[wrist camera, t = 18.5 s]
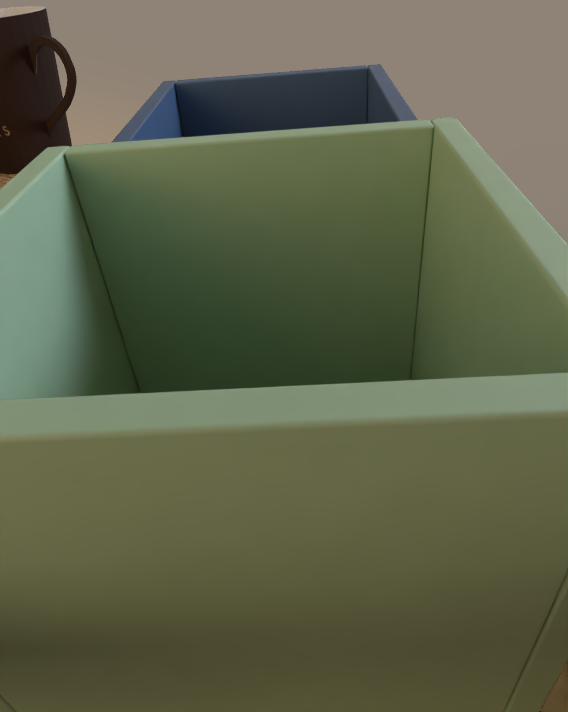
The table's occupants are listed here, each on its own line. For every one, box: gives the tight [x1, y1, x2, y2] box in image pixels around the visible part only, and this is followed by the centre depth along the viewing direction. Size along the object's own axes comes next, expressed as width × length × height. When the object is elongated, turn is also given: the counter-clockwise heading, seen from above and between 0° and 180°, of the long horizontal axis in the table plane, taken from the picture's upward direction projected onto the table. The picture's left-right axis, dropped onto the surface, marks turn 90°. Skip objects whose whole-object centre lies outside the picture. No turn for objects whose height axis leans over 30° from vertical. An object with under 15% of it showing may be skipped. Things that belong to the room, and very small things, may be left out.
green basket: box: [0, 117, 568, 712], centre depth 10 cm, size 8×8×10 cm
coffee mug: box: [0, 6, 76, 174], centre depth 40 cm, size 12×9×10 cm
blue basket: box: [111, 64, 418, 143], centre depth 19 cm, size 8×8×9 cm
